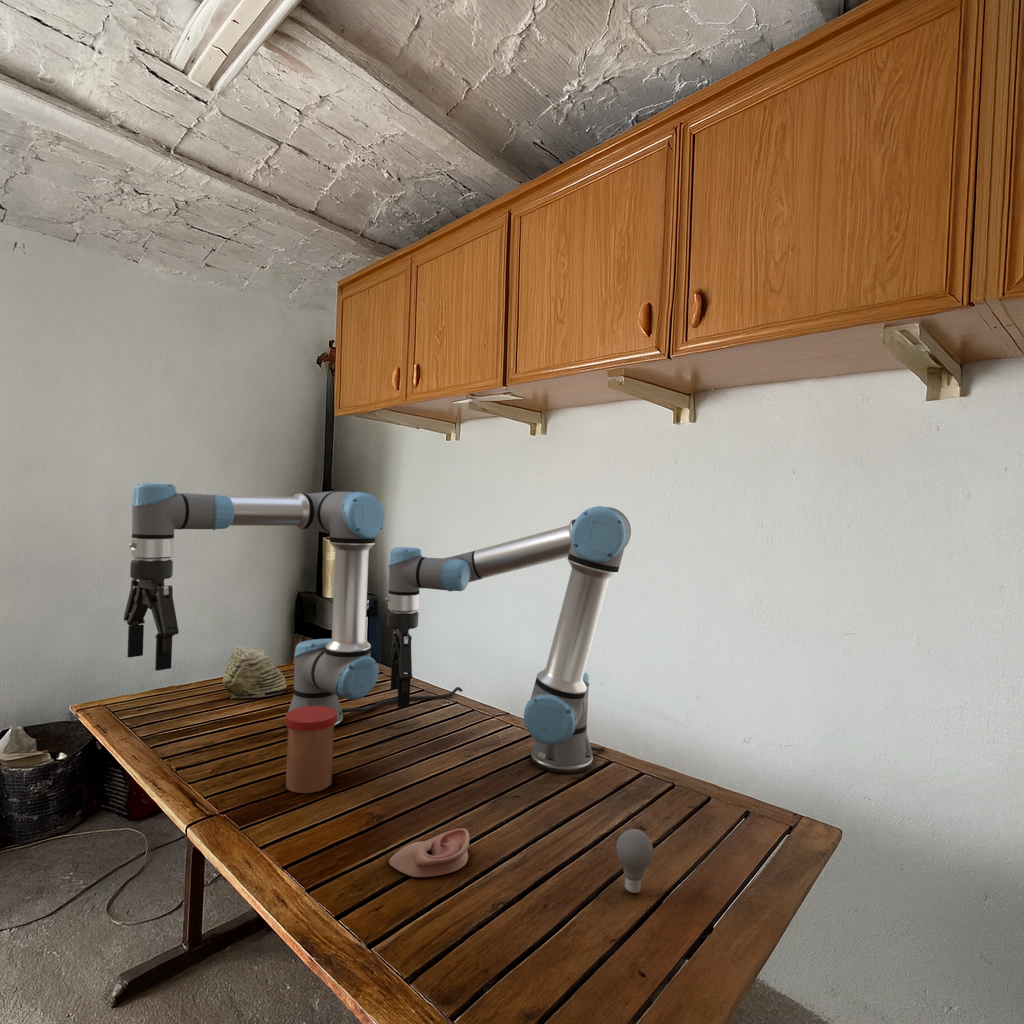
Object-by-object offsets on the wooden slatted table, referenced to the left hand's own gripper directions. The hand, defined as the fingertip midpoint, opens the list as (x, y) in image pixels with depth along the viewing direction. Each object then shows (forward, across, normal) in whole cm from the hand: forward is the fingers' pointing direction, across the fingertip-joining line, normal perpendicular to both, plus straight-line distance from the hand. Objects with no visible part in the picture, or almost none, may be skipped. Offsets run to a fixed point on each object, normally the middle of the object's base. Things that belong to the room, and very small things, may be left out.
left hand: (148, 662), depth 129 cm
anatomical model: (+28, +59, +24) cm, 69 cm away
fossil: (+28, -47, +50) cm, 74 cm away
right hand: (+13, +21, +49) cm, 55 cm away
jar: (+28, +18, +27) cm, 43 cm away
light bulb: (+28, +90, +41) cm, 103 cm away
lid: (+13, +18, +27) cm, 35 cm away
